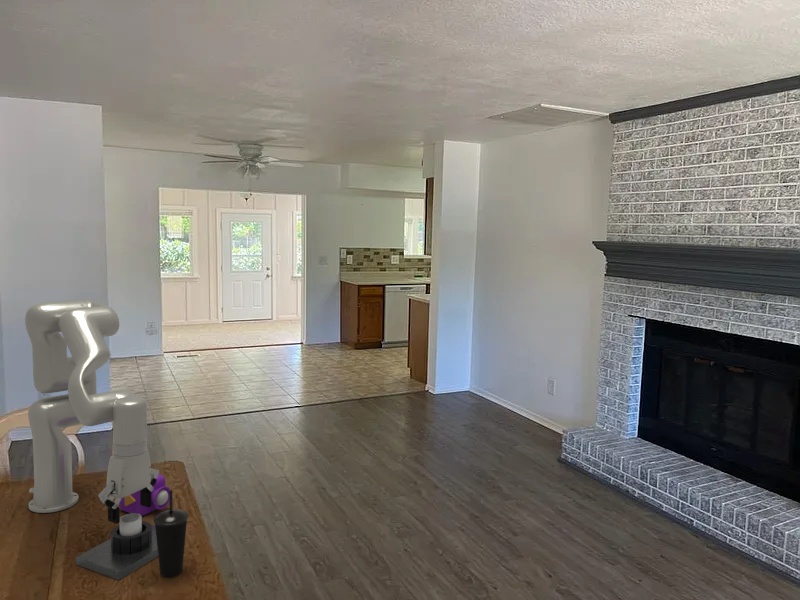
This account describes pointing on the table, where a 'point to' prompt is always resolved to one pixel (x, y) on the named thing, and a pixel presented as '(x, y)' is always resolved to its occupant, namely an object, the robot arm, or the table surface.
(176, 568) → the drinking cup
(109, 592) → the table surface
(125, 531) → the white cylinder
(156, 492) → the toy camera
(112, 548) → the lens mount
